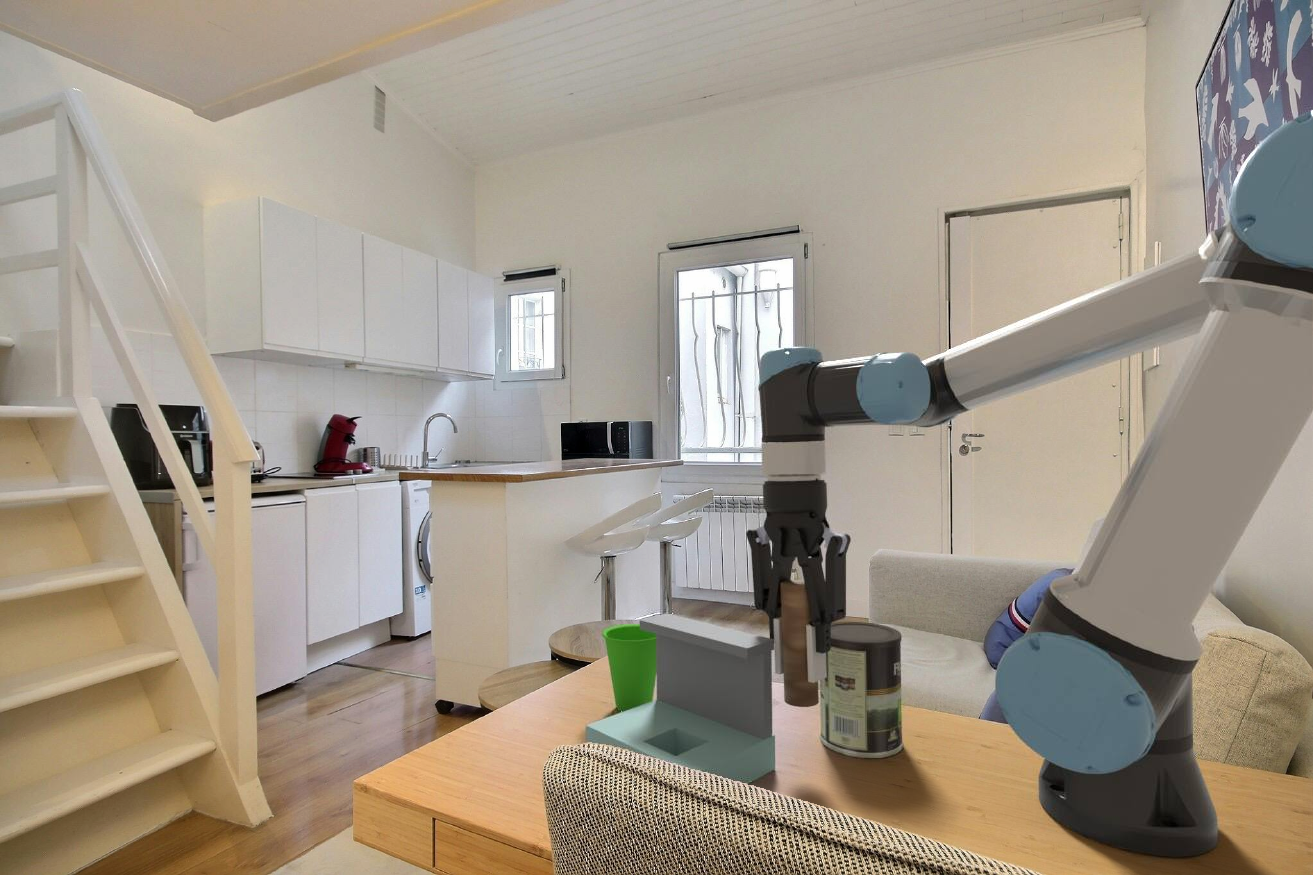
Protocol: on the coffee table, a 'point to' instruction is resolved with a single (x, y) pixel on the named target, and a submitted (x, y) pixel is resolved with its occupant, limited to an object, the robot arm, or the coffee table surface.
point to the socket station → (702, 702)
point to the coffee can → (862, 691)
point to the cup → (631, 664)
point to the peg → (796, 645)
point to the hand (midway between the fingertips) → (800, 674)
